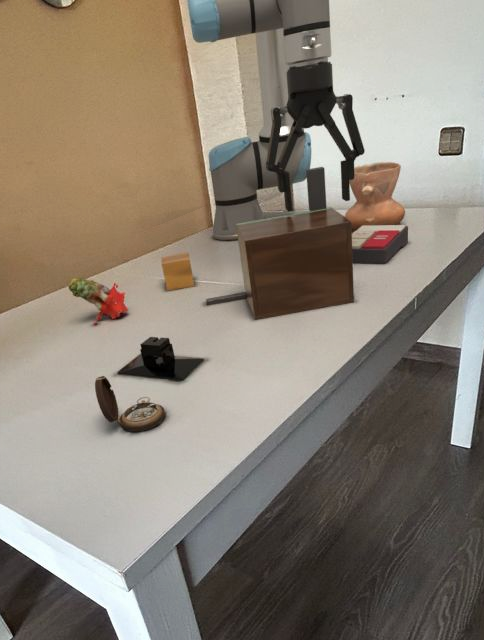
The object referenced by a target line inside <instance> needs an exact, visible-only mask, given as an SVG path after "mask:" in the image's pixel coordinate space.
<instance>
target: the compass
mask: <svg viewBox="0 0 484 640" xmlns="http://www.w3.org/2000/svg"><path fill="white" fill-rule="evenodd" d="M111 388H112V385H111V382H110V381H109V379H108V378H107V377H106V376H105V375H102V376H98V377H96V378H95V382H94V390H95V396H96V400H97V403H98V406H99V408H100V411H101V413H102V415H103V417H104V419H106V421H107V422H110V423H114V422H119V424H120V426H121V428H122V429H124V430H126V431H128V432H129V431H130V432H142V431H143V432H144V431H148V430H150V429H153V428H154V427H156V426H158V425H159V424H161V423H162V422H163V421H164V419H165V417H166V415H167V412H166V411H165V408H164V407H163V406H162V405H161V404H158V403H155V402H153V401H151V398H150V397H149V396H143V397H139V398H138V399H137V400H136V403H135V404H133V405H131V406H129V407H128V408H127V409H126V410H125V411H124V412H122V414H121V415H119V407H118V402H117V401H118V400H117V397H116V394H115V392H114V389H111ZM143 399H147V401H146V400H143ZM140 400H141V401H140ZM139 401H140V402H139ZM150 401H151V402H150Z"/></svg>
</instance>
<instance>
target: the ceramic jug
mask: <svg viewBox="0 0 484 640" xmlns="http://www.w3.org/2000/svg"><path fill="white" fill-rule="evenodd" d="M401 168H402V165H401V163H398V162H393V161H379V162H372V163H365V164H362V165H357V166H354V175H355V176H354V179H353V180H349V185H350V190H351V191H352V194H353V196H354V199H355V200H356V201H355V203H354V204H353V205H352V206H351V207H350V208H349V209H348V210H347V211H346V213H345V214H344V217H346V218H347V219H349V220H350V221H351V225H352V231H354V232H355V231H357V230H358V229H359V228H360V227H361V226H372V225H399V224H400V223H401V222H402V221H403V220H404V218H405V216H406V210H405V207H404V206H403V205H402V204H401V203H400V202H398V201H396V200H395V199H393V198H392V196H393V194H394V191H395V189H396V186H397V183H398V181H399V178H400V173H401Z"/></svg>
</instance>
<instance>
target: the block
mask: <svg viewBox="0 0 484 640" xmlns="http://www.w3.org/2000/svg"><path fill="white" fill-rule="evenodd" d="M161 268H162V272H163V278H164V282H165V287H166V291H168V292H169V291H174V290H181V289H185V288H191V287H195V281H194V276H193V270H192V264H191V259H190V254H189V252H188V251H187V252H180V253H176V254H175V253H174V254H169V255H163V256H161Z"/></svg>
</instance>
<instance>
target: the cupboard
mask: <svg viewBox="0 0 484 640" xmlns="http://www.w3.org/2000/svg"><path fill="white" fill-rule="evenodd" d="M237 230H238V237H239V242H238V245H239V244H240V249H239V253H240V252H241V256H240V260H241V259H242V264H241V267H242V266H243V271H242V275H243V274H244V278H243V282H244V281H245V285H244V289H245V288H246V291H242V292H237V293H231V294H226V295H220V296H215V297H209V298H206V299H205V302H206V305H207V306H210V305H216V304H221V303H226V302H232V301H238V300H242V299H246V300H247V302H248V305H249V307H250V310H251V313H252V315H253V319H254V320H255V321H256V320H261V319H266V318H272V317H277V316H283V315H289V314H295V313H298V312H299V313H300V312H304V311H305V312H306V311H311V310H317V309H322V308H328V307H332V306H338V305H339V306H340V305H345V304H350V303H354V302H355V293H354V291H355V290H354V289H355V288H354V263H353V257H352V233H353V230H352V225H351V221H350V220H349V219H347V218H346V217H345V215H343V214H342V213H340V212H339V211H338V210H336V209H334V208H333V207H332V209H327V210H321V211H316V212H310V213H305V214H299V215H294V216H288V217H283V218H277V219H272V220H266V221H260V222H255V223H249V224H244V225H238V226H237Z"/></svg>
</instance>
